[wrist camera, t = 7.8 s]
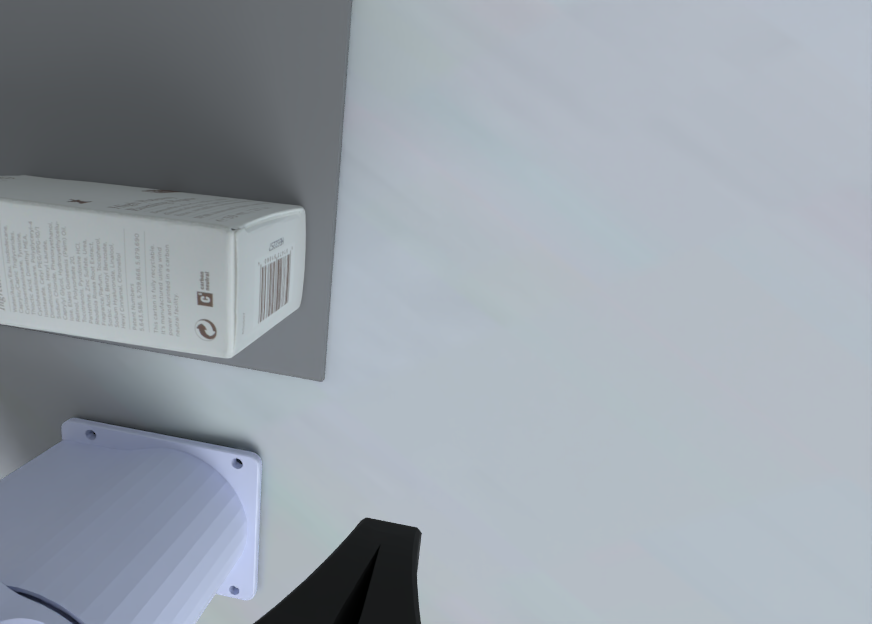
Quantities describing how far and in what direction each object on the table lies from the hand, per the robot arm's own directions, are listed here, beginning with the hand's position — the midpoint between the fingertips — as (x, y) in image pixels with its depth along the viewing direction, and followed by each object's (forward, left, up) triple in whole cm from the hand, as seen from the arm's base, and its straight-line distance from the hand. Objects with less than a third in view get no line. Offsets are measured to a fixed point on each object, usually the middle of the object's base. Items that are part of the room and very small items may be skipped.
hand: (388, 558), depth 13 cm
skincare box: (-6, +4, -7) cm, 10 cm away
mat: (-13, +7, -10) cm, 18 cm away
